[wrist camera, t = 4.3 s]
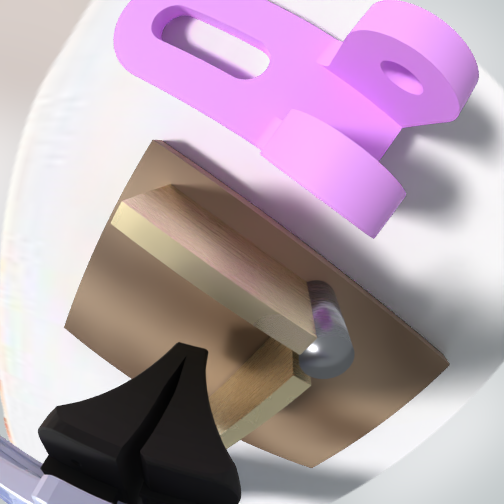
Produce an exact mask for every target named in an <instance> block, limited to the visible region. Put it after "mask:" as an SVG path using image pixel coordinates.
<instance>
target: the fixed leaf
mask: <svg viewBox="0 0 504 504" xmlns="http://www.w3.org/2000/svg"><path fill="white" fill-rule="evenodd" d="M111 224H112V225H113V226H114V227H116V228H117V229H118V230H120V231H121V232H122V233H124V234H125V235H126V236H127V237H129V238H130V239H131V240H133V241H134V242H135V243H137V244H138V245H139V246H141V247H142V248H143V249H145V250H146V251H147V252H149V253H150V254H151V255H153V256H154V257H155V258H157V259H158V260H160V261H161V262H162V263H164V264H165V265H166V266H168V267H169V268H171V269H172V270H173V271H175V272H176V273H177V274H179V275H180V276H182V277H183V278H184V279H186V280H187V281H189V282H190V283H192V284H193V285H194V286H196V287H197V288H199V289H200V290H202V291H203V292H204V293H206V294H207V295H209V296H210V297H212V298H213V299H215V300H216V301H218V302H219V303H220V304H222V305H223V306H225V307H226V308H228V309H229V310H231V311H232V312H234V313H235V314H237V315H238V316H240V317H241V318H243V319H244V320H246V321H247V322H249V323H250V324H252V325H254V326H255V327H257V328H258V329H260V330H261V331H263V332H264V333H266V334H267V335H269V336H271V337H272V338H274V339H275V340H277V341H278V342H280V343H282V344H283V345H285V346H286V347H288V348H290V349H291V350H293V351H294V352H296V353H298V354H299V364H300V367H301V369H302V370H303V372H304V373H306V374H307V375H309V376H311V377H313V378H317V379H329V378H333V377H336V376H339V375H341V374H342V373H344V372H345V371H346V370H347V369H348V368H349V367H350V366H351V364H352V363H353V360H354V355H355V353H354V348H353V345H352V342H351V339H350V336H349V333H348V330H347V327H346V324H345V321H344V318H343V315H342V312H341V309H340V307H339V304H338V301H337V298H336V295H335V292H334V290H333V288H332V287H331V286H330V285H329V284H328V283H326V282H324V281H320V280H313V281H309V282H306V281H304V280H303V279H302V278H300V277H299V276H298V275H296V274H295V273H293V272H292V271H291V270H289V269H288V268H287V267H285V266H284V265H282V264H281V263H280V262H278V261H277V260H276V259H274V258H273V257H271V256H270V255H269V254H267V253H266V252H264V251H263V250H262V249H260V248H259V247H258V246H256V245H255V244H253V243H252V242H251V241H249V240H248V239H246V238H245V237H244V236H242V235H241V234H240V233H238V232H237V231H235V230H234V229H233V228H231V227H230V226H228V225H227V224H226V223H224V222H223V221H221V220H220V219H219V218H217V217H216V216H214V215H213V214H212V213H210V212H209V211H207V210H206V209H205V208H203V207H202V206H201V205H199V204H198V203H196V202H195V201H194V200H192V199H191V198H189V197H188V196H187V195H185V194H184V193H182V192H181V191H180V190H178V189H177V188H175V187H174V186H173V185H171V184H169V185H166V186H163V187H160V188H157V189H154V190H151V191H148V192H145V193H143V194H140V195H137V196H134V197H131V198H129V199H126V200H123V201H122V202H121V204H120V205H119V207H118V209H117V211H116V213H115V215H114V217H113V219H112V221H111Z"/></svg>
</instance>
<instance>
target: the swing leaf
mask: <svg viewBox="0 0 504 504" xmlns="http://www.w3.org/2000/svg"><path fill="white" fill-rule="evenodd" d="M310 386H311V378H310V376H309V375H307V374H306V373H304V372H303V370H302V369H301V367H300V364H299V354H298V353H296V352H294V351H293V350H291V349H290V348H288V347H286V346H285V345H283V344H282V343H280V342H278V341H277V340H275V339H274V338H272V337H270V338H269V339H268V340H267V341H266V342H265V343H264V344H263V345H262V346H261V347H260V348H259V349H258V350H257V351H256V352H255V353H254V354H253V355H252V356H251V357H250V358H249V360H248V361H247V362H246V363H245V364H244V365H242V366H241V367H240V368H239V369H238V370H237V371H236V372H235V373H234V374H233V375H232V376H231V377H230V378H229V379H228V380H227V381H226V382H225V383H224V384H223V385H222V386H221V387H220V388H219V389H218V390H217V391H216V392H215V393H214V394H213V395H212V396H210V397H209V402H210V407H211V411H212V414H213V418H214V421H215V424H216V427H217V429H218V432H219V434H220V437H221V439H222V442H223V444H224V446H225V448H226V449H227V448H229V447H230V446H232V445H233V444H235V443H236V442H238V441H239V440H241V439H242V438H244V437H245V436H247V435H248V434H249V433H251V432H252V431H254V430H255V429H256V428H258V427H259V426H261V425H262V424H263V423H265V422H266V421H267V420H269V419H270V418H271V417H273V416H274V415H275V414H277V413H278V412H279V411H280V410H282V409H283V408H284V407H286V406H287V405H288V404H289V403H291V402H292V401H293V400H294V399H296V398H297V397H298V396H299V395H301V394H302V393H303V392H304V391H305V390H307V389H308V388H309V387H310Z"/></svg>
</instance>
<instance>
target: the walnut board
mask: <svg viewBox="0 0 504 504" xmlns="http://www.w3.org/2000/svg"><path fill="white" fill-rule="evenodd" d="M169 184H171V185H173V186H174V187H175V188H177V189H178V190H180V191H181V192H182V193H184V194H185V195H187V196H188V197H189V198H191V199H192V200H194V201H195V202H196V203H198V204H199V205H201V206H202V207H203V208H205V209H206V210H207V211H209V212H210V213H212V214H213V215H214V216H216V217H217V218H219V219H220V220H221V221H223V222H224V223H226V224H227V225H228V226H230V227H231V228H233V229H234V230H235V231H237V232H238V233H240V234H241V235H242V236H244V237H245V238H246V239H248V240H249V241H251V242H252V243H253V244H255V245H256V246H258V247H259V248H260V249H262V250H263V251H264V252H266V253H267V254H269V255H270V256H271V257H273V258H274V259H276V260H277V261H278V262H280V263H281V264H282V265H284V266H285V267H287V268H288V269H289V270H291V271H292V272H293V273H295V274H296V275H298V276H299V277H300V278H302V279H303V280H304V281H306V282H309V281H313V280H320V281H324V282H326V283H328V284H329V285H330V286H331V287H332V288H333V290H334V292H335V295H336V298H337V301H338V304H339V307H340V309H341V312H342V315H343V318H344V321H345V324H346V327H347V330H348V333H349V336H350V339H351V342H352V345H353V348H354V353H355V355H354V360H353V363H352V364H351V366H350V367H349V368H348V369H347V370H346V371H345V372H344V373H342V374H341V375H339V376H336V377H333V378H329V379H317V378H313V377H311V376H310V378H311V386H310V387H309V388H308V389H307V390H305V391H304V392H303V393H302V394H301V395H299V396H298V397H297V398H296V399H294V400H293V401H292V402H291V403H289V404H288V405H287V406H286V407H284V408H283V409H282V410H280V411H279V412H278V413H277V414H275V415H274V416H273V417H271V418H270V419H269V420H267V421H266V422H265V423H263V424H262V425H261V426H259V427H258V428H256V429H255V430H254V431H252V432H251V433H249V434H248V435H247V436H245V437H244V438H242V439H241V440H242V441H244V442H246V443H248V444H251V445H253V446H255V447H258V448H260V449H262V450H265V451H267V452H270V453H272V454H274V455H277V456H279V457H282V458H285V459H287V460H290V461H293V462H295V463H298V464H301V465H304V466H306V467H309V468H313V467H315V466H316V465H318V464H320V463H322V462H323V461H325V460H327V459H328V458H330V457H332V456H333V455H335V454H337V453H338V452H340V451H342V450H343V449H345V448H346V447H348V446H349V445H351V444H352V443H354V442H355V441H357V440H358V439H360V438H361V437H363V436H364V435H366V434H367V433H369V432H370V431H371V430H373V429H374V428H376V427H377V426H378V425H380V424H381V423H382V422H384V421H385V420H386V419H388V418H389V417H390V416H392V415H393V414H394V413H396V412H397V411H398V410H399V409H401V408H402V407H403V406H404V405H406V404H407V403H408V402H409V401H410V400H412V399H413V398H414V397H415V396H416V395H418V394H419V393H420V392H421V391H422V390H423V389H424V388H426V387H427V386H428V385H429V384H430V383H431V382H432V381H433V380H434V379H436V378H437V377H438V376H439V375H440V374H441V373H442V372H443V371H444V370H445V369H446V368H447V367H448V366H449V365H450V364H449V362H448V361H447V359H446V358H445V356H444V355H443V354H442V353H441V352H440V351H438V350H437V349H436V348H435V347H434V346H433V345H431V344H430V343H429V342H428V341H427V340H426V339H424V338H423V337H422V336H421V335H420V334H418V333H417V332H416V331H415V330H414V329H412V328H411V327H410V326H409V325H408V324H406V323H405V322H404V321H403V320H402V319H400V318H399V317H398V316H397V315H395V314H394V313H393V312H392V311H391V310H389V309H388V308H387V307H386V306H384V305H383V304H382V303H381V302H380V301H378V300H377V299H376V298H375V297H373V296H372V295H371V294H370V293H368V292H367V291H366V290H365V289H363V288H362V287H361V286H360V285H358V284H357V283H356V282H354V281H353V280H352V279H351V278H349V277H348V276H347V275H346V274H344V273H343V272H342V271H340V270H339V269H338V268H337V267H335V266H334V265H333V264H332V263H330V262H329V261H328V260H326V259H325V258H324V257H322V256H321V255H320V254H319V253H317V252H316V251H315V250H313V249H312V248H311V247H309V246H308V245H307V244H305V243H304V242H303V241H301V240H300V239H299V238H298V237H296V236H295V235H294V234H292V233H291V232H290V231H288V230H287V229H286V228H284V227H283V226H282V225H280V224H279V223H277V222H276V221H275V220H273V219H272V218H271V217H269V216H268V215H267V214H265V213H264V212H263V211H261V210H260V209H258V208H257V207H256V206H254V205H253V204H252V203H250V202H249V201H247V200H246V199H245V198H243V197H242V196H241V195H239V194H238V193H236V192H235V191H234V190H232V189H231V188H229V187H228V186H227V185H225V184H224V183H222V182H221V181H220V180H218V179H217V178H215V177H214V176H213V175H211V174H210V173H208V172H207V171H205V170H204V169H203V168H201V167H200V166H198V165H197V164H195V163H194V162H193V161H191V160H190V159H188V158H187V157H185V156H184V155H182V154H181V153H179V152H178V151H177V150H175V149H174V148H172V147H171V146H169V145H168V144H166V143H165V142H163V141H162V140H152V142H151V144H150V145H149V147H148V149H147V150H146V152H145V154H144V155H143V157H142V159H141V160H140V162H139V164H138V165H137V167H136V169H135V171H134V172H133V174H132V176H131V178H130V180H129V181H128V183H127V185H126V187H125V189H124V191H123V192H122V194H121V196H120V198H119V200H118V202H117V204H116V206H115V208H114V210H113V212H112V214H111V216H110V218H109V220H108V222H107V224H106V226H105V228H104V230H103V232H102V234H101V237H100V239H99V241H98V243H97V245H96V247H95V250H94V252H93V254H92V256H91V259H90V261H89V263H88V266H87V268H86V271H85V273H84V275H83V278H82V280H81V283H80V285H79V288H78V290H77V293H76V296H75V298H74V301H73V304H72V306H71V309H70V312H69V315H68V317H67V320H66V323H65V326H64V328H65V329H67V330H68V331H69V332H70V333H71V334H73V335H74V336H75V337H76V338H77V339H79V340H80V341H81V342H82V343H84V344H85V345H86V346H87V347H89V348H90V349H91V350H93V351H94V352H95V353H97V354H98V355H99V356H101V357H102V358H103V359H105V360H106V361H107V362H109V363H110V364H111V365H113V366H114V367H116V368H117V369H118V370H120V371H121V372H123V373H124V374H126V375H127V376H129V377H130V378H132V379H133V378H134V377H136V376H137V375H139V374H140V373H142V372H143V371H145V370H146V369H147V368H149V367H150V366H151V365H153V364H154V363H155V362H156V361H158V360H159V359H160V358H161V357H162V356H163V355H165V354H166V353H167V352H168V351H169V350H170V349H171V348H172V347H173V346H174V345H175V344H176V343H178V342H181V343H185V344H189V345H192V346H196V347H200V348H204V349H207V350H208V352H209V353H208V359H207V365H206V383H207V391H208V397H210V396H212V395H213V394H214V393H215V392H216V391H217V390H218V389H219V388H220V387H221V386H222V385H223V384H224V383H225V382H226V381H227V380H228V379H229V378H230V377H231V376H232V375H233V374H234V373H235V372H236V371H237V370H238V369H239V368H240V367H241V366H242V365H244V364H245V363H246V362H247V361H248V360H249V358H250V357H251V356H252V355H253V354H254V353H255V352H256V351H257V350H258V349H259V348H260V347H261V346H262V345H263V344H264V343H265V342H266V341H267V340H268V339H269V338H270V337H271V336H269V335H267V334H266V333H264V332H263V331H261V330H260V329H258V328H257V327H255V326H254V325H252V324H250V323H249V322H247V321H246V320H244V319H243V318H241V317H240V316H238V315H237V314H235V313H234V312H232V311H231V310H229V309H228V308H226V307H225V306H223V305H222V304H220V303H219V302H218V301H216V300H215V299H213V298H212V297H210V296H209V295H207V294H206V293H204V292H203V291H202V290H200V289H199V288H197V287H196V286H194V285H193V284H192V283H190V282H189V281H187V280H186V279H184V278H183V277H182V276H180V275H179V274H177V273H176V272H175V271H173V270H172V269H171V268H169V267H168V266H166V265H165V264H164V263H162V262H161V261H160V260H158V259H157V258H155V257H154V256H153V255H151V254H150V253H149V252H147V251H146V250H145V249H143V248H142V247H141V246H139V245H138V244H137V243H135V242H134V241H133V240H131V239H130V238H129V237H127V236H126V235H125V234H124V233H122V232H121V231H120V230H118V229H117V228H116V227H114V226H113V225H112V224H111V221H112V219H113V217H114V215H115V213H116V211H117V209H118V207H119V205H120V204H121V202H122V201H123V200H126V199H129V198H131V197H134V196H137V195H140V194H143V193H145V192H148V191H151V190H154V189H157V188H160V187H163V186H166V185H169Z"/></svg>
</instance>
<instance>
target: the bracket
mask: <svg viewBox="0 0 504 504" xmlns="http://www.w3.org/2000/svg"><path fill="white" fill-rule="evenodd" d="M179 16H191V17H194V18H196V19H198V20H201V21H203V22H205V23H207V24H210V25H212V26H214V27H216V28H218V29H220V30H223V31H225V32H227V33H229V34H231V35H233V36H235V37H237V38H239V39H241V40H243V41H245V42H246V43H248V44H250V45H252V46H254V47H256V48H258V49H259V50H261V51H263V52H264V53H265V54H266V55H267V56H268V57H269V59H270V63H269V66H268V68H267V69H266V70H265V71H264V72H263V73H262V74H261V75H260V76H258V77H255V78H253V79H238V78H235V77H233V76H231V75H229V74H227V73H226V72H224V71H222V70H220V69H218V68H216V67H215V66H213V65H211V64H209V63H207V62H205V61H203V60H201V59H199V58H197V57H195V56H193V55H191V54H189V53H187V52H185V51H183V50H181V49H179V48H177V47H175V46H172V45H170V44H168V43H166V42H164V41H162V31H163V29H164V27H165V26H166V24H167V23H168V22H169V21H171V20H172V19H174V18H176V17H179ZM114 49H115V53H116V56H117V58H118V60H119V62H120V63H121V65H122V66H123V67H124V68H125V69H126V70H127V71H129V72H130V73H131V74H133V75H135V76H137V77H139V78H141V79H142V80H144V81H146V82H148V83H150V84H152V85H154V86H156V87H158V88H159V89H161V90H163V91H165V92H167V93H168V94H170V95H172V96H174V97H176V98H177V99H179V100H181V101H183V102H184V103H186V104H188V105H190V106H191V107H193V108H195V109H197V110H198V111H200V112H202V113H203V114H205V115H207V116H208V117H210V118H212V119H213V120H215V121H217V122H218V123H220V124H221V125H223V126H225V127H226V128H228V129H229V130H231V131H233V132H234V133H236V134H237V135H239V136H241V137H242V138H244V139H245V140H247V141H248V142H250V143H251V144H253V145H254V146H256V147H257V148H259V149H260V150H262V151H261V152H260V154H261V155H262V156H263V157H264V158H265V159H267V160H268V161H269V162H270V163H272V164H273V165H274V166H276V167H277V168H278V169H280V170H281V171H282V172H284V173H285V174H287V175H288V176H289V177H291V178H292V179H293V180H295V181H296V182H297V183H299V184H300V185H301V186H303V187H304V188H305V189H307V190H308V191H309V192H311V193H312V194H313V195H315V196H316V197H317V198H319V199H320V200H321V201H323V202H324V203H325V204H327V205H328V206H329V207H331V208H332V209H333V210H335V211H336V212H337V213H339V214H340V215H341V216H343V217H344V218H345V219H347V220H348V221H349V222H351V223H352V224H353V225H355V226H356V227H357V228H359V229H360V230H362V231H363V232H364V233H366V234H367V235H369V236H370V237H372V238H373V239H374V238H375V237H376V236H377V234H378V233H379V232H380V230H381V229H382V228H383V226H384V225H385V224H386V222H387V221H388V220H389V218H390V217H391V216H392V214H393V213H394V212H395V210H396V209H397V207H398V206H399V205H400V203H401V202H402V201H403V199H404V198H405V196H406V192H405V190H404V188H403V187H402V186H401V184H400V183H399V182H398V181H397V179H396V178H395V177H394V176H393V175H392V174H391V173H390V172H389V171H388V170H387V169H386V168H385V167H384V166H383V165H382V164H381V163H380V162H379V161H380V159H381V158H382V156H383V155H384V154H385V152H386V151H387V149H388V148H389V146H390V145H391V144H392V142H393V141H394V139H395V138H396V136H397V135H398V133H399V132H400V130H401V129H402V128H405V127H412V126H419V125H427V124H435V123H443V122H451V121H453V120H455V119H456V118H457V117H458V116H459V114H460V112H461V110H462V109H463V107H464V105H465V104H466V102H467V100H468V98H469V97H470V95H471V93H472V91H473V90H474V88H475V86H476V84H477V82H478V78H479V71H478V66H477V63H476V60H475V58H474V56H473V54H472V52H471V50H470V49H469V47H468V46H467V44H466V43H465V42H464V41H463V39H462V38H461V37H460V36H459V35H458V34H457V33H456V32H455V31H454V30H453V29H452V28H451V27H450V26H449V25H447V24H446V23H445V22H444V21H443V20H441V19H439V18H438V17H437V16H435V15H434V14H432V13H430V12H429V11H427V10H425V9H423V8H421V7H418V6H415V5H413V4H410V3H407V2H402V1H397V0H383V1H379V2H377V3H375V4H373V5H372V6H371V7H370V9H369V10H368V11H367V12H366V13H365V15H364V16H363V17H362V18H361V19H360V21H359V22H358V23H357V24H356V26H355V27H354V28H353V29H352V31H351V32H350V33H349V34H348V35H347V37H346V38H345V40H344V42H341V41H339V40H337V39H335V38H333V37H332V36H330V35H328V34H327V33H325V32H324V31H322V30H320V29H319V28H317V27H315V26H314V25H312V24H310V23H309V22H307V21H305V20H303V19H302V18H300V17H298V16H296V15H294V14H292V13H291V12H289V11H287V10H285V9H283V8H281V7H279V6H277V5H275V4H273V3H271V2H269V1H267V0H131V1H130V2H129V3H128V5H127V6H126V7H125V8H124V10H123V12H122V13H121V15H120V17H119V19H118V22H117V24H116V28H115V32H114Z"/></svg>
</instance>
